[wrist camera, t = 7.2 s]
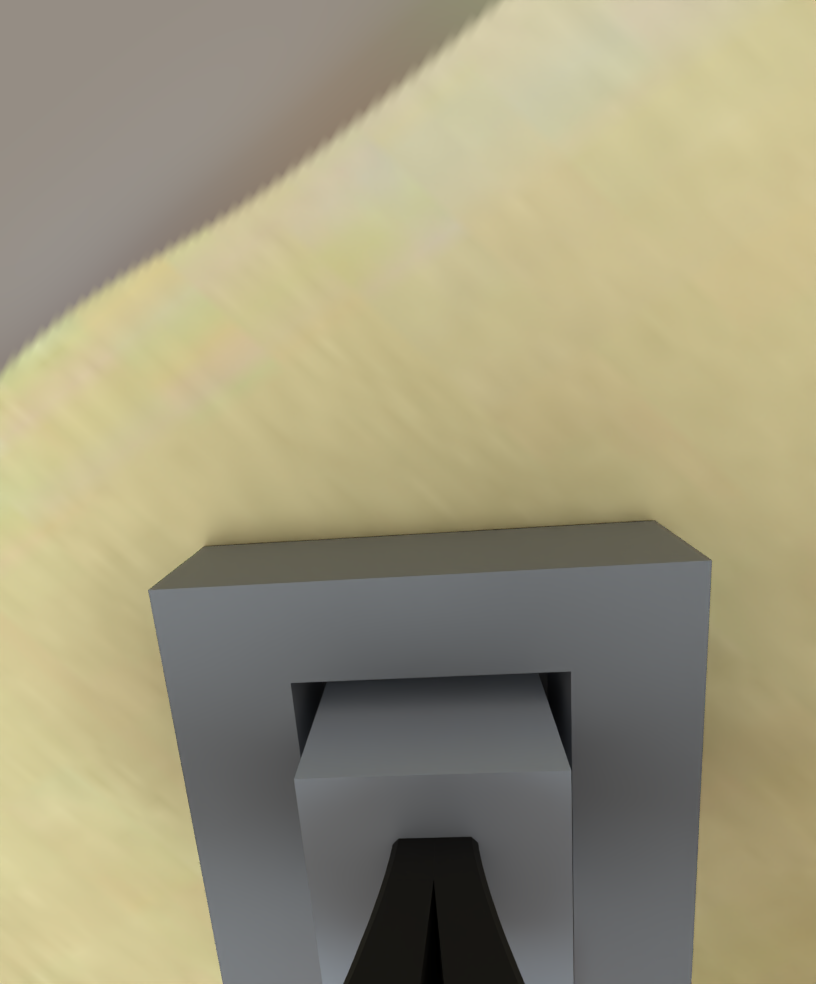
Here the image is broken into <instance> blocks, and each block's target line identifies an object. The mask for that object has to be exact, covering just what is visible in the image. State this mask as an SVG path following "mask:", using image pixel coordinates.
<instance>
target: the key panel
mask: <svg viewBox="0 0 816 984" xmlns="http://www.w3.org/2000/svg"><path fill="white" fill-rule="evenodd" d="M711 568H712V560H711V559H709V558H708V557H706V556H705V555H703V554H702V553H701V552H699V551H698V550H696V549H695V548H693V547H692V546H691V545H689V544H688V543H686V542H685V541H683V540H682V539H681V538H679V537H678V536H676V535H675V534H673V533H672V532H671V531H669V530H668V529H666V528H665V527H663V526H662V525H661V524H659V523H658V522H656V521H639V522H622V523H605V524H587V525H570V526H553V527H535V528H518V529H501V530H483V531H466V532H449V533H431V534H414V535H396V536H379V537H362V538H344V539H327V540H310V541H292V542H275V543H258V544H240V545H223V546H206V547H203V548H202V549H200V550H199V551H198V552H196V553H195V554H194V555H193V556H191V557H190V558H189V559H187V560H186V561H185V562H184V563H182V564H181V565H180V566H179V567H177V568H176V569H175V570H173V571H172V572H171V573H170V574H168V575H167V576H166V577H164V578H163V579H162V580H161V581H159V582H158V583H157V584H156V585H154V586H153V587H152V588H150V589H149V590H148V592H149V597H150V602H151V607H152V613H153V618H154V623H155V628H156V634H157V639H158V644H159V649H160V655H161V660H162V665H163V671H164V676H165V681H166V686H167V692H168V697H169V702H170V707H171V713H172V718H173V723H174V728H175V734H176V739H177V744H178V750H179V755H180V760H181V765H182V771H183V776H184V781H185V786H186V792H187V797H188V802H189V807H190V813H191V818H192V823H193V829H194V834H195V839H196V844H197V850H198V855H199V860H200V865H201V871H202V876H203V881H204V886H205V892H206V897H207V902H208V908H209V913H210V918H211V923H212V929H213V934H214V939H215V944H216V950H217V955H218V960H219V965H220V971H221V976H222V981H223V984H322V977H321V970H320V963H319V956H318V949H317V941H316V934H315V927H314V920H313V913H312V905H311V898H310V891H309V884H308V877H307V870H306V862H305V855H304V848H303V841H302V834H301V826H300V819H299V812H298V805H297V798H296V791H295V783H294V777H295V774H296V771H297V768H298V765H299V762H300V760H301V757H302V754H303V751H304V748H305V745H306V742H307V739H308V736H309V733H310V730H311V727H312V724H313V721H314V718H315V715H316V713H317V710H318V707H319V704H320V701H321V698H322V695H323V692H324V689H325V686H326V683H327V682H336V681H360V680H385V679H409V678H433V677H457V676H481V675H505V674H529V673H538V674H539V677H540V680H541V683H542V686H543V688H544V691H545V694H546V697H547V700H548V703H549V706H550V709H551V712H552V715H553V718H554V721H555V724H556V727H557V730H558V733H559V736H560V739H561V742H562V745H563V748H564V750H565V753H566V756H567V759H568V762H569V765H570V768H571V790H572V880H573V970H574V984H691V978H692V957H693V937H694V916H695V896H696V875H697V855H698V834H699V814H700V793H701V773H702V752H703V732H704V711H705V691H706V670H707V650H708V629H709V609H710V588H711Z"/></svg>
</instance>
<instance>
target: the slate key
mask: <svg viewBox="0 0 816 984" xmlns="http://www.w3.org/2000/svg"><path fill="white" fill-rule="evenodd" d="M294 783H295V791H296V798H297V805H298V812H299V819H300V826H301V834H302V841H303V848H304V855H305V862H306V870H307V877H308V884H309V891H310V898H311V905H312V913H313V920H314V927H315V934H316V941H317V949H318V956H319V963H320V970H321V977H322V984H343V983H344V981H345V978H346V976H347V974H348V971H349V969H350V966H351V964H352V962H353V959H354V957H355V954H356V952H357V949H358V947H359V944H360V942H361V939H362V937H363V934H364V932H365V929H366V927H367V924H368V922H369V919H370V916H371V913H372V911H373V908H374V905H375V902H376V899H377V897H378V894H379V891H380V888H381V885H382V882H383V878H384V875H385V872H386V868H387V865H388V861H389V858H390V854H391V849H392V845H393V843H395V842H396V841H397V840H398V839H399V838H439V837H472V838H473V839H475V840H476V841H477V842H478V844H479V851H480V856H481V860H482V865H483V869H484V872H485V876H486V880H487V883H488V886H489V890H490V893H491V896H492V899H493V902H494V905H495V908H496V911H497V914H498V917H499V920H500V922H501V925H502V928H503V930H504V933H505V936H506V938H507V941H508V943H509V946H510V948H511V951H512V953H513V956H514V958H515V961H516V963H517V966H518V968H519V971H520V973H521V976H522V978H523V980H524V983H525V984H574V970H573V880H572V790H571V768H570V765H569V762H568V759H567V756H566V753H565V750H564V748H563V745H562V742H561V739H560V736H559V733H558V730H557V727H556V724H555V721H554V718H553V715H552V712H551V709H550V706H549V703H548V700H547V697H546V694H545V691H544V688H543V686H542V683H541V680H540V677H539V674H538V673H529V674H505V675H481V676H457V677H433V678H409V679H385V680H360V681H336V682H327V683H326V686H325V689H324V692H323V695H322V698H321V701H320V704H319V707H318V710H317V713H316V715H315V718H314V721H313V724H312V727H311V730H310V733H309V736H308V739H307V742H306V745H305V748H304V751H303V754H302V757H301V760H300V762H299V765H298V768H297V771H296V774H295V777H294Z"/></svg>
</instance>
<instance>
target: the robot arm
mask: <svg viewBox="0 0 816 984" xmlns="http://www.w3.org/2000/svg"><path fill="white" fill-rule="evenodd" d="M343 984H525V983H524V980H523V978H522V976H521V973H520V971H519V968H518V966H517V963H516V961H515V958H514V956H513V953H512V951H511V948H510V946H509V943H508V941H507V938H506V936H505V933H504V930H503V928H502V925H501V922H500V920H499V917H498V914H497V911H496V908H495V905H494V902H493V899H492V896H491V893H490V890H489V886H488V883H487V880H486V876H485V872H484V869H483V865H482V860H481V856H480V851H479V844H478V842H477V841H476V840H475V839H473V838H472V837H439V838H399V839H398V840H397V841H396V842H395V843H393V845H392V849H391V854H390V858H389V861H388V865H387V868H386V872H385V875H384V878H383V882H382V885H381V888H380V891H379V894H378V897H377V899H376V902H375V905H374V908H373V911H372V913H371V916H370V919H369V922H368V924H367V927H366V929H365V932H364V934H363V937H362V939H361V942H360V944H359V947H358V949H357V952H356V954H355V957H354V959H353V962H352V964H351V966H350V969H349V971H348V974H347V976H346V978H345V981H344V983H343Z"/></svg>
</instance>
